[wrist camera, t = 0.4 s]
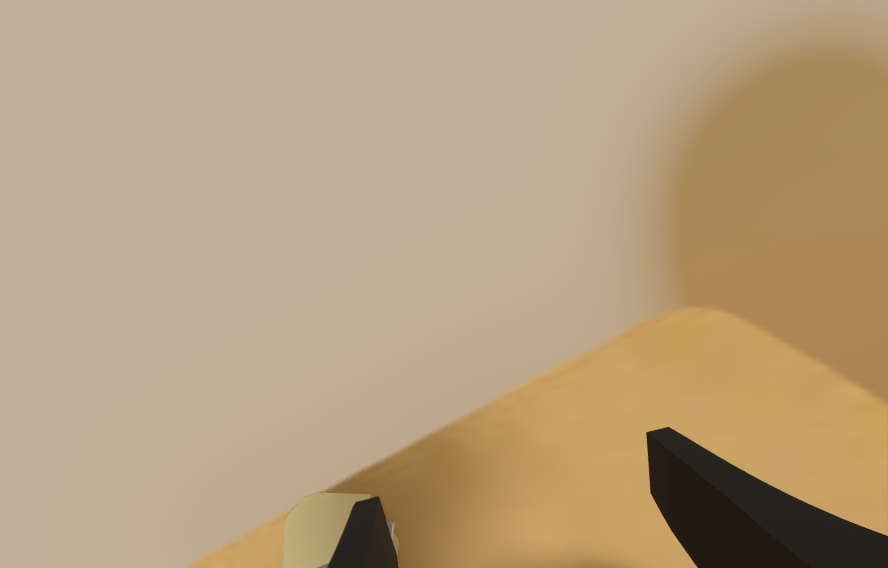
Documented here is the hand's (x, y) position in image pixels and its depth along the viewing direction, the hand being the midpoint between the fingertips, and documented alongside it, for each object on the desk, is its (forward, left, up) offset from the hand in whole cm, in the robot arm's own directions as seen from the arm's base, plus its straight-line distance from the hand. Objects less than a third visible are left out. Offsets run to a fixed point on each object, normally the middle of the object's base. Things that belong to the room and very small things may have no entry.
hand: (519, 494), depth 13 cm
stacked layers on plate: (+15, +15, -20) cm, 29 cm away
